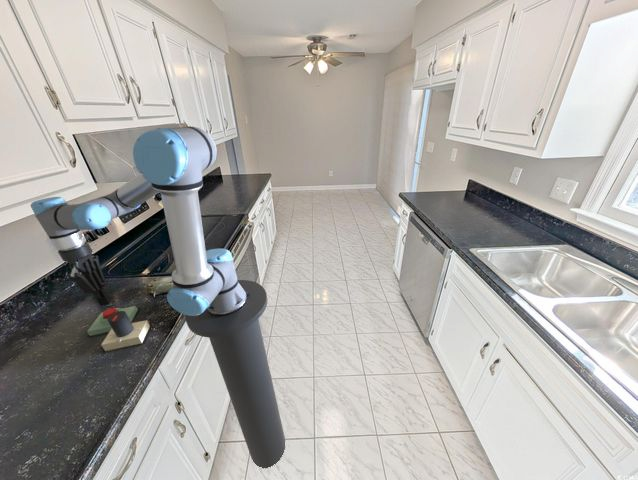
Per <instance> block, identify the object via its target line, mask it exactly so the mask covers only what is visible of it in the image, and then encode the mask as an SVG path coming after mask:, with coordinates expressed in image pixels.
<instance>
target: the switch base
mask: <svg viewBox="0 0 638 480" xmlns="http://www.w3.org/2000/svg"><path fill="white" fill-rule="evenodd" d="M115 308H116V310H117V312H119V311H125V312H126V314H127V316H128V317H129V319H130V321H131V322H133V319H134V318H135V316H136V315H137V313H138V311H139V309H138V308H137V306H136V305H134V306H129V307H123V308H121V307H115ZM103 312H104V311H102V312H100V314H99V315H98V316H97V318H96V319H95V320H94V321H93V323H92V324H91V326H90V327H89V328H88V330H86V332H87V334H88V335H89V337H91V336H96V335H102V334H106V333H107V334H108V333H109V332H110V331H111V329H112V327H111V326H110V324H109V322H108V319H105V318H104V316H103Z"/></svg>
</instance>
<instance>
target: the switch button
mask: <svg viewBox="0 0 638 480" xmlns="http://www.w3.org/2000/svg"><path fill="white" fill-rule="evenodd" d="M116 308H117V307H110V308H107V309H105V310H104V311H102V312H103V316H104V318H105V319H108V318H109V316H111V315H112V314H114V313H116V312H117V310H116Z"/></svg>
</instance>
